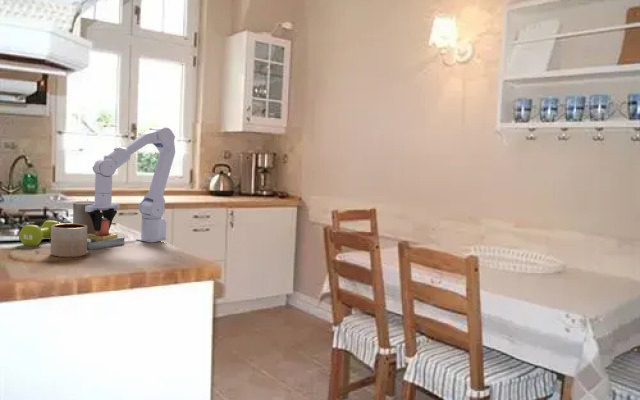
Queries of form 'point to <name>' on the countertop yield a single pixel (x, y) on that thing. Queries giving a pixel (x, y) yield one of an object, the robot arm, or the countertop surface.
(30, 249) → the countertop surface
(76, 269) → the countertop surface
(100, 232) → the oil can
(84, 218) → the pillar candle
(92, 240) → the grey flat block
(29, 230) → the dumbbell
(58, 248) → the planter
